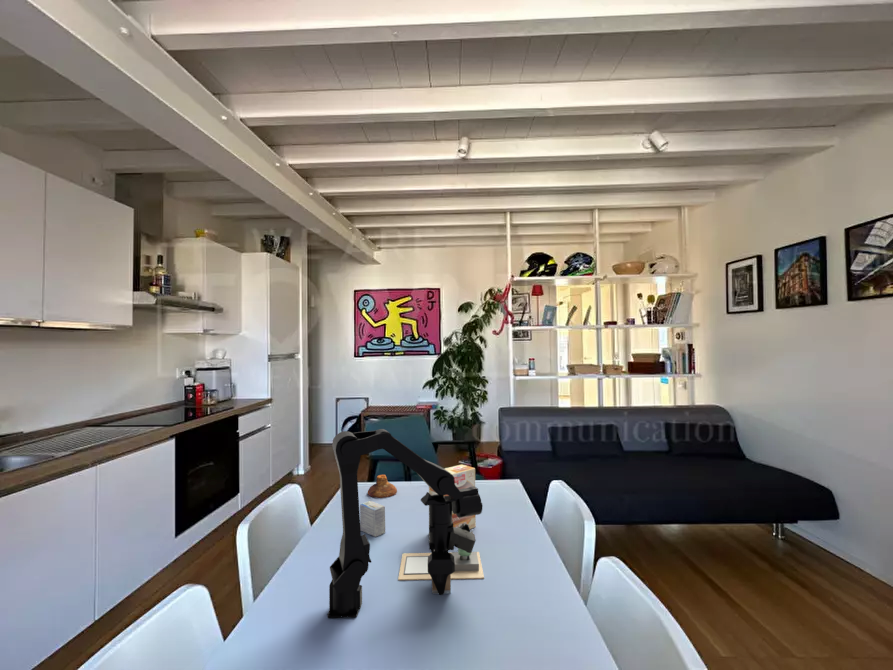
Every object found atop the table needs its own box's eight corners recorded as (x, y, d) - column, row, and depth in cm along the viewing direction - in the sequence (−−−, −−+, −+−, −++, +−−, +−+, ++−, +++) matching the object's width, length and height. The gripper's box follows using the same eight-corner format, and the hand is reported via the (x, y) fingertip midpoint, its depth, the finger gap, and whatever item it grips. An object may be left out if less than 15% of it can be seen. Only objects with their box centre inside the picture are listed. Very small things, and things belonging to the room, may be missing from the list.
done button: (458, 563, 116) (458, 550, 116) (457, 557, 120) (457, 544, 120) (471, 563, 116) (471, 550, 116) (470, 556, 120) (470, 543, 120)
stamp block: (432, 594, 105) (431, 572, 105) (432, 583, 109) (432, 563, 109) (450, 593, 105) (450, 572, 105) (450, 583, 109) (449, 563, 109)
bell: (372, 488, 184) (371, 471, 185) (399, 489, 183) (399, 472, 184) (364, 498, 173) (364, 479, 173) (393, 499, 172) (393, 480, 172)
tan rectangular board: (398, 580, 111) (398, 578, 111) (402, 554, 125) (402, 552, 125) (484, 578, 111) (484, 576, 111) (478, 552, 125) (478, 551, 125)
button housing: (452, 572, 114) (452, 564, 114) (451, 559, 121) (451, 552, 121) (478, 571, 114) (478, 564, 115) (476, 558, 121) (476, 551, 122)
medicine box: (385, 533, 139) (385, 505, 140) (374, 537, 136) (374, 509, 136) (370, 526, 145) (370, 500, 145) (359, 530, 141) (359, 503, 142)
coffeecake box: (442, 540, 133) (441, 476, 134) (428, 533, 139) (427, 472, 139) (476, 527, 143) (476, 467, 144) (462, 520, 148) (461, 463, 149)
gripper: (476, 535, 98) (477, 605, 98) (470, 505, 117) (471, 564, 116) (427, 536, 98) (427, 606, 97) (428, 506, 117) (429, 565, 116)
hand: (441, 584), depth 107 cm, fingers open, 9 cm apart
